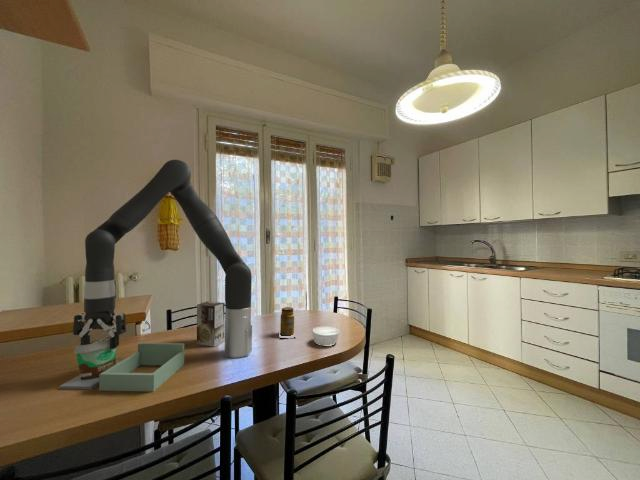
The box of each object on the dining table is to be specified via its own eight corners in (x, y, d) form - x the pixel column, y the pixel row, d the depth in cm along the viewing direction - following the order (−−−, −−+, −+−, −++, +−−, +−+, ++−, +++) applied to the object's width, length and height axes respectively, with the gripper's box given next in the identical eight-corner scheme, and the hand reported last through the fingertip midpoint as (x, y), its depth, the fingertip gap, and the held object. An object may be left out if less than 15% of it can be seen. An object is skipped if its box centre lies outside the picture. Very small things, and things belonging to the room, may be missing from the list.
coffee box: (224, 341, 115) (225, 302, 115) (214, 347, 109) (214, 306, 109) (207, 338, 118) (207, 300, 118) (195, 344, 112) (196, 303, 112)
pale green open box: (184, 364, 94) (184, 343, 94) (153, 391, 77) (154, 365, 77) (139, 363, 94) (139, 342, 94) (99, 390, 77) (99, 365, 77)
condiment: (293, 332, 128) (294, 306, 128) (296, 338, 120) (296, 310, 120) (278, 333, 127) (278, 306, 127) (279, 339, 119) (279, 311, 119)
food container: (94, 381, 78) (92, 346, 79) (75, 382, 79) (73, 346, 80) (130, 363, 91) (128, 332, 91) (113, 363, 92) (111, 332, 92)
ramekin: (331, 350, 108) (331, 336, 108) (306, 344, 113) (307, 331, 113) (343, 341, 117) (343, 329, 118) (320, 336, 123) (320, 324, 123)
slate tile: (131, 364, 93) (131, 361, 93) (91, 389, 77) (91, 386, 77) (104, 363, 93) (104, 361, 93) (59, 389, 77) (59, 386, 77)
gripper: (131, 293, 89) (131, 343, 89) (86, 293, 89) (86, 343, 89) (114, 297, 81) (114, 353, 81) (65, 297, 81) (65, 353, 81)
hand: (99, 348), depth 85 cm, fingers open, 8 cm apart
